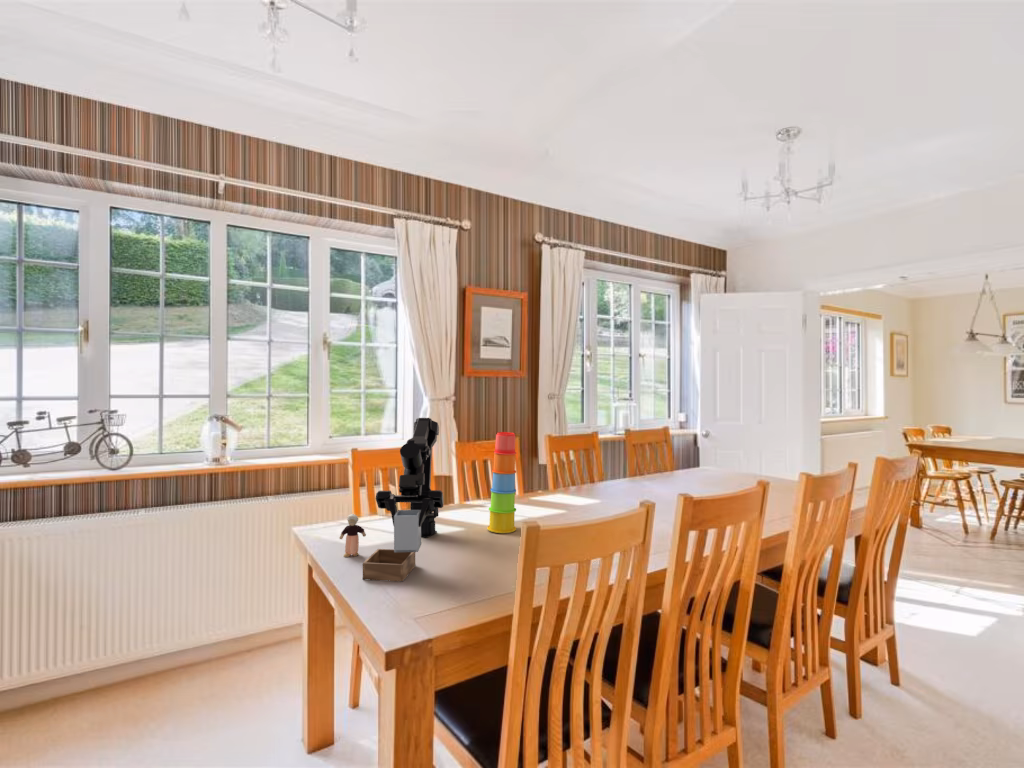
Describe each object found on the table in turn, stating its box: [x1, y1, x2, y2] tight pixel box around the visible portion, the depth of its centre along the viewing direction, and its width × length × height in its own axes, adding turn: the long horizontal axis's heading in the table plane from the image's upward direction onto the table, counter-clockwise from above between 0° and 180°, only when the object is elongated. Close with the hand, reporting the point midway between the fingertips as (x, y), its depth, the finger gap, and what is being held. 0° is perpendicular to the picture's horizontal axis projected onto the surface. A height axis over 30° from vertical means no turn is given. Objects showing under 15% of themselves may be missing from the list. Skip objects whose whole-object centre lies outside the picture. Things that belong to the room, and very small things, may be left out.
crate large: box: [362, 548, 416, 582], centre depth 142 cm, size 11×11×4 cm
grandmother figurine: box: [338, 513, 367, 558], centre depth 156 cm, size 8×4×13 cm, turn 117°
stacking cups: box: [487, 431, 517, 534], centre depth 181 cm, size 10×10×35 cm
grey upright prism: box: [393, 509, 422, 553], centre depth 142 cm, size 6×6×10 cm
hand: (406, 526), depth 141 cm, fingers closed on grey upright prism, 6 cm apart
